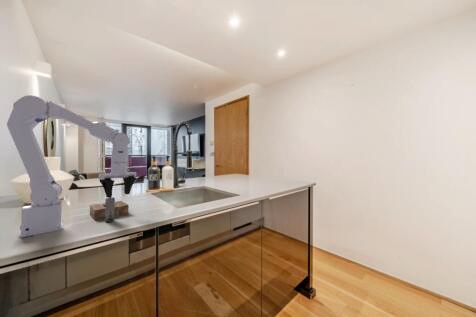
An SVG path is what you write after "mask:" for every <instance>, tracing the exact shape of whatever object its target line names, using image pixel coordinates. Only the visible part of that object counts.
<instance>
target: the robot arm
mask: <svg viewBox="0 0 476 317" xmlns="http://www.w3.org/2000/svg"><path fill="white" fill-rule="evenodd" d="M50 118H52V119H53V120H65V121H67V122H69V123H70V124H71V123H72V124H74V125H77V126H78V127H82V128H83V129H85V130H87V131H88V132H89V135H90V136H93V137H95V138H96V139H97V138H98V139H99V140H101V141H104V142H107V143H111V144H112V150H111V156H110V158H111V160H110V162H111V163H110V172H108V173H99V174H98V180H99V183H100V184H101V186H102V188H103V190H104V193H105V197H106V198H111V197H112V196H113V188H114V184H115V180H114V179H120V178H122V181H123V185H124V187H123V188H124V189H123V190H124V195H130V193H131V190H132V187H133V186H134V183H135V182H136V180H137V171H128V168H129V166H128V164H129V144H130V141H131V140H130V138H129V136H128V135H127V134H126V133H124V132H120V130H119V129H115V128H113V127H110V126H109V125H107V123H106V122H104V121H102V122H101V121H94V122H93V121H90V120H89V119H86V118H84V117H83V116H81V115H79V114H77V113H75V112H73V111H71V110H70V109H67V108H65V107H63V106H61V105H59V104H56V103H55V102H52V101H48V100H44V99H43V98H42V97H39V96H36V95H31V94H30V95H23V96H22V97H20V98H19V99H17V100H16V101H15V102H13V104H12V110H11V113H10V115H9V118H8V120H7V122H6V126H7V129H8V131H9V133H10V136H11V139H12V140H13V142H14V146H15V148H16V150H17V152H18V154H19V156H20V159H21V161H22V164H23V166H24V168H25V170H26V171H25V172H26V173H27V175H28V178H29V187H30V190H31V191H30V195H29V196H30V197H29V199H30V201H31V203H30V204H31V205H24V206H22V207H21V223H20V224H19V230H20V238H25V237H30V236H36V235H41V234H47V233H51V232H56V231H61V230H64V226H63V222H62V207H63V203H62V202H63V201H62V199H60V197H59V196H61V195H62V193H63V188H62V186H61V185H60V184H59V183H58V182H56V179H55V178H54V176H53V175H52V174H51V172H50V170H49V166H48V165H47V164H48V163H47V162H46V159H45V157H44V155H43V152H42V150H41V147H40V145H39V143H38V140H37V137H36V135H35V133H34V128H36V127H37V126H38V125H39V124H40V123H41V122H44V121H46V120H48V119H50Z"/></svg>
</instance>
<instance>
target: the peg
mask: <svg viewBox="0 0 476 317" xmlns="http://www.w3.org/2000/svg"><path fill="white" fill-rule="evenodd" d="M115 202H116V199H115V197H111V198H108V197H106V198H105V202H104V203H105V218H104V223H105V224H107V223H112V222H115V217H114V209H115Z"/></svg>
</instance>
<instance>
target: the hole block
mask: <svg viewBox="0 0 476 317" xmlns="http://www.w3.org/2000/svg"><path fill="white" fill-rule="evenodd" d="M89 215H90V216H91V218H92V219H93V221H97V220H98V221H99V220H102V219H104V220H105V202H103V203H97V204H96V203H95V204H90V205H89ZM125 215H129V204H128V203H126V202H124V201H123V200H119V201H115V209H114V218H115V217H120V216H125Z"/></svg>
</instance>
